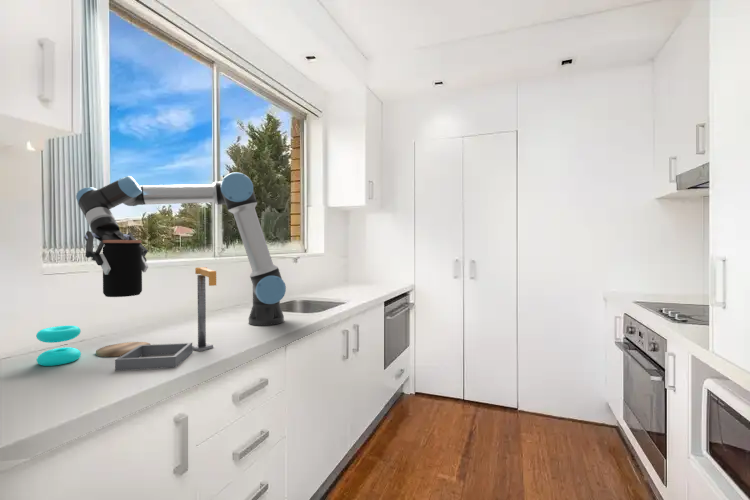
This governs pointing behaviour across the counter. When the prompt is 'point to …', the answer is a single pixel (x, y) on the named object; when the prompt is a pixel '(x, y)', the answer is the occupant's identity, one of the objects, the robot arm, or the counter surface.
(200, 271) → the clip arm
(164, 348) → the grey square tray
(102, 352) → the coaster
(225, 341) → the counter surface
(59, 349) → the donuts
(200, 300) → the post
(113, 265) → the coffee jar
